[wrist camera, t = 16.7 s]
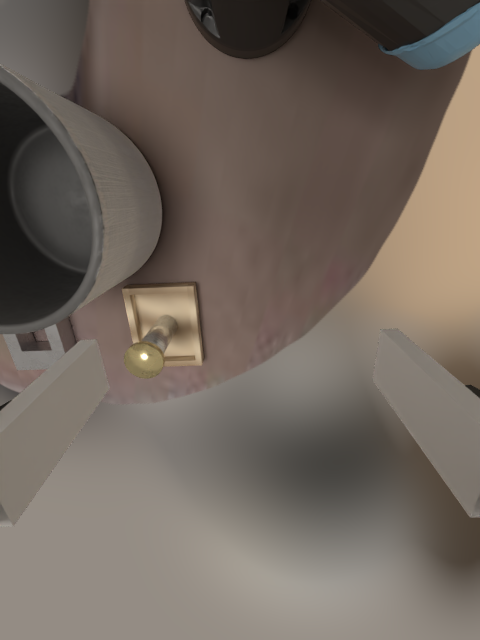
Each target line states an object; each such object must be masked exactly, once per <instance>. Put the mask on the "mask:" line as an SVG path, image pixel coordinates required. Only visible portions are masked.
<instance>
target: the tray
mask: <svg viewBox="0 0 480 640" xmlns="http://www.w3.org/2000/svg"><path fill="white" fill-rule="evenodd" d="M122 293H123V298H124V302H125V307H126V312H127V316H128V321H129V326H130V330H131V335H132V340H133V344H134V343H136V342H140V341H142V339H143V338H144V337H145V335H146V334H147V333H148V331H149V330H150V329H151V327H152V326H153V325H154V323H155V322H156V320H157V319H158V318H159V317H160V316H163V315H169V316H171V317H173V318H174V319H175V320H176V322H177V325H178V327H177V330H176V332H175V334H174V336H173V338H172V340H171V341H170V343H169V345H168V347H167V349H166V351H165V353H164V356H165V363H164V366H163V367H165V366H195V365H202V364H203V359H204V356H203V347H202V337H201V328H200V319H199V309H198V300H197V291H196V282H185V283H161V284H136V285H126V286H125V287H124V288H122Z"/></svg>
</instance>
